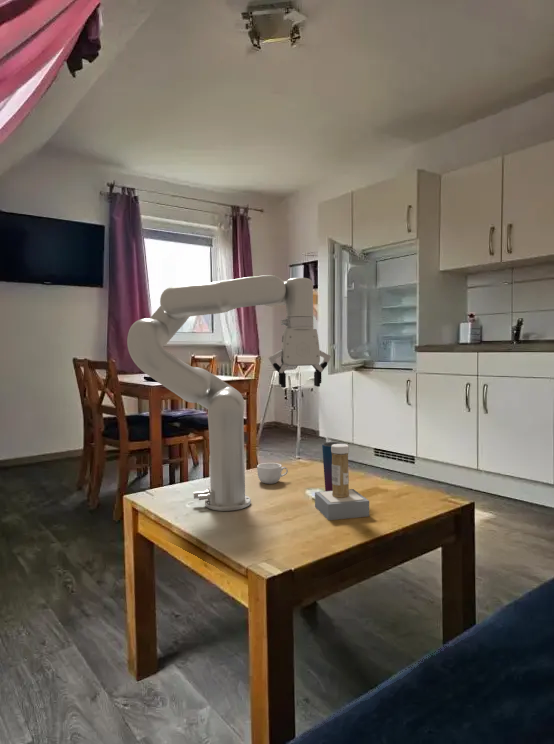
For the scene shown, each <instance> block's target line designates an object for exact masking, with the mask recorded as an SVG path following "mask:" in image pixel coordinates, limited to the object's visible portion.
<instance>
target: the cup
mask: <svg viewBox="0 0 554 744" xmlns="http://www.w3.org/2000/svg"><path fill="white" fill-rule="evenodd" d="M333 444H346V443H345V442H340V441H326V442H323V443H321V447H322V448H321V450H322V462H323V478H324V489H325V490H324V491H333V488H332V452H331V446H332V445H333Z"/></svg>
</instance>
